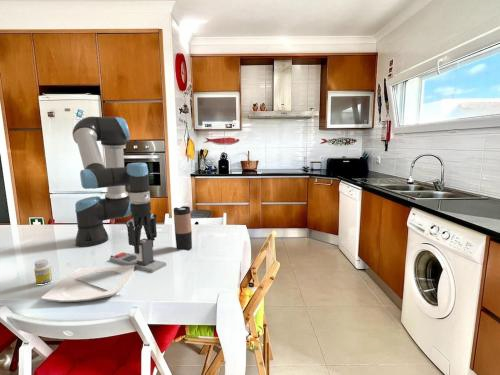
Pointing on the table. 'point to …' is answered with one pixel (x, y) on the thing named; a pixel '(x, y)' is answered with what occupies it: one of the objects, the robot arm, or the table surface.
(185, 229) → the travel mug
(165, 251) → the table surface
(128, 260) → the power strip
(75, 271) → the plate
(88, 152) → the robot arm
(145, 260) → the block
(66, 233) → the table surface
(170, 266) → the table surface
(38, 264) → the supplement bottle
